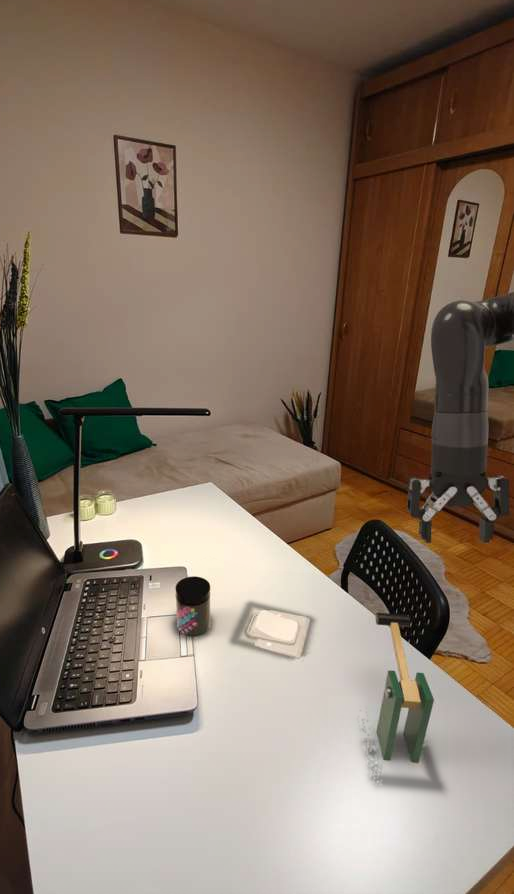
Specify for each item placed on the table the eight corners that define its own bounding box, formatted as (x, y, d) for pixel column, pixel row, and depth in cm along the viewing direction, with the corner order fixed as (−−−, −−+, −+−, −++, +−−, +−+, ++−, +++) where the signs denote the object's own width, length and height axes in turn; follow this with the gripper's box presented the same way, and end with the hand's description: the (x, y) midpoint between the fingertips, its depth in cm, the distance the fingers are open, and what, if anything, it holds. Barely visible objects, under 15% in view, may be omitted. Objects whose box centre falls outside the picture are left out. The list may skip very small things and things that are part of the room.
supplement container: (175, 620, 91) (173, 578, 87) (207, 615, 92) (207, 574, 89) (178, 644, 85) (177, 601, 81) (213, 639, 86) (213, 596, 82)
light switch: (250, 596, 93) (310, 607, 89) (250, 612, 94) (310, 624, 90) (233, 632, 83) (300, 646, 79) (234, 649, 85) (300, 664, 81)
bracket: (361, 719, 71) (372, 654, 66) (412, 723, 70) (427, 657, 65) (375, 786, 62) (390, 715, 57) (434, 791, 61) (454, 720, 56)
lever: (374, 617, 71) (377, 609, 70) (405, 619, 71) (409, 611, 70) (390, 706, 62) (394, 700, 60) (426, 709, 61) (431, 703, 60)
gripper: (416, 446, 64) (414, 551, 67) (522, 443, 62) (515, 551, 65) (403, 437, 71) (402, 532, 74) (498, 434, 69) (493, 531, 72)
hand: (455, 541), depth 69 cm, fingers open, 8 cm apart
